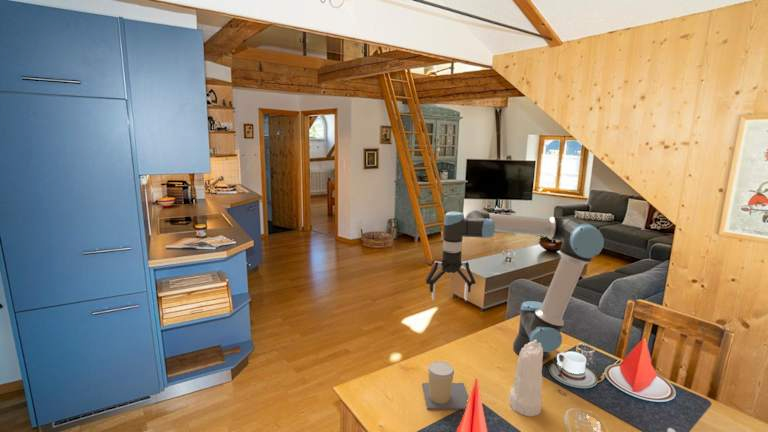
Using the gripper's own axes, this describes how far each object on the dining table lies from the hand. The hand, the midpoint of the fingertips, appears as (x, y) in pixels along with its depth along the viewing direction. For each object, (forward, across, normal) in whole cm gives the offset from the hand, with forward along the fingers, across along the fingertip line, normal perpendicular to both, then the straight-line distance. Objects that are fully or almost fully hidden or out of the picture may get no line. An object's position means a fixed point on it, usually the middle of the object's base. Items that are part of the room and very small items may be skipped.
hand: (449, 299), depth 164 cm
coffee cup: (+28, +7, +24) cm, 38 cm away
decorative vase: (+29, -24, +28) cm, 47 cm away
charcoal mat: (+29, +4, +23) cm, 37 cm away
